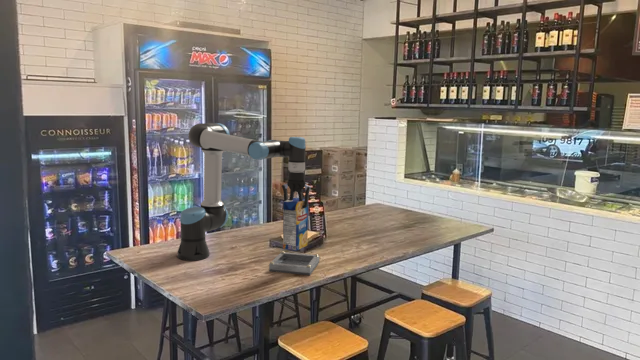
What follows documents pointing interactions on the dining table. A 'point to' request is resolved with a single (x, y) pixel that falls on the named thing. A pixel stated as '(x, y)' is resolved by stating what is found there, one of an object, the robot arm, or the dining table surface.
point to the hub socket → (294, 263)
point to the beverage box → (295, 225)
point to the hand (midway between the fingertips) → (295, 221)
